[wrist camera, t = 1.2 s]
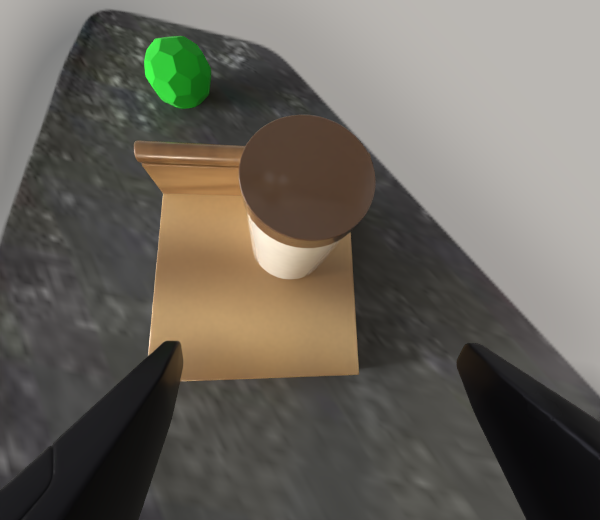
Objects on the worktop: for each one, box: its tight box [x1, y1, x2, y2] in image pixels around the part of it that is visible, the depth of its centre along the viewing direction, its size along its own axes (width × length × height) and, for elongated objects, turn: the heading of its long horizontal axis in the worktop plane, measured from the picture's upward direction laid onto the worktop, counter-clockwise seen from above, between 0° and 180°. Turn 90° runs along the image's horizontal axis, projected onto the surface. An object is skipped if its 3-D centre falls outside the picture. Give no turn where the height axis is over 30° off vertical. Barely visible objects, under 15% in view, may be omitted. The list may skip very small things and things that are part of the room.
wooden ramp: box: [134, 141, 370, 381], centre depth 20 cm, size 14×14×7 cm
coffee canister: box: [239, 115, 376, 279], centre depth 17 cm, size 6×6×10 cm
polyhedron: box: [144, 36, 211, 109], centre depth 24 cm, size 5×5×5 cm
